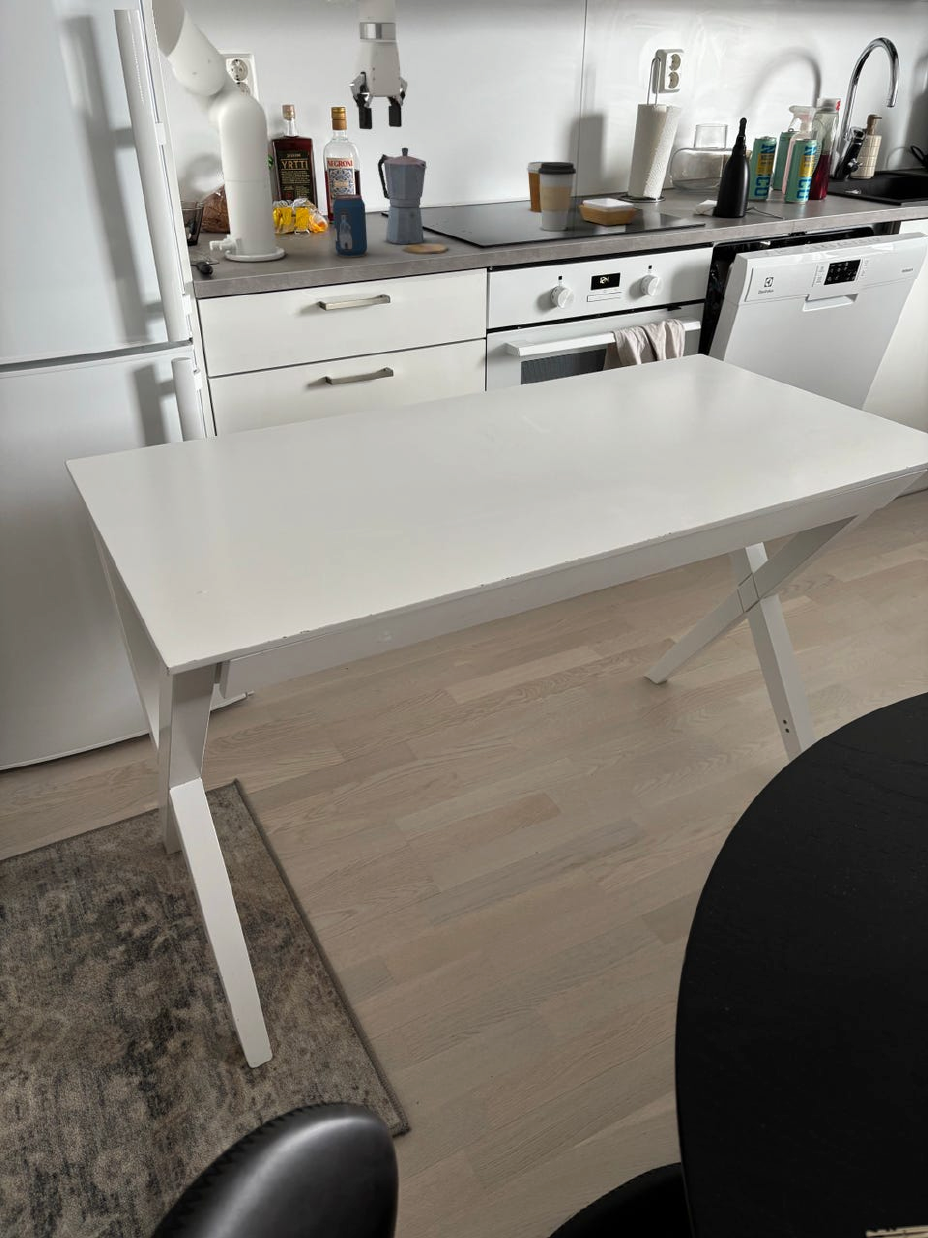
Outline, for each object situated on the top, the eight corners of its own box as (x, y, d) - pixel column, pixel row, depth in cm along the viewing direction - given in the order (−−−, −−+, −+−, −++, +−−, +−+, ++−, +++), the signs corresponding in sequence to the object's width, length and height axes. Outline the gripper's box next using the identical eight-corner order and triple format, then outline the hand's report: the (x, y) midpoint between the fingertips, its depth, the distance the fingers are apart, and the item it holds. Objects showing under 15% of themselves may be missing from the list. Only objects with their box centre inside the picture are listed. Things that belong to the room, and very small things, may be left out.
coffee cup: (527, 228, 235) (530, 163, 227) (551, 224, 241) (554, 160, 233) (557, 233, 230) (560, 166, 222) (580, 228, 236) (584, 163, 228)
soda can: (363, 251, 210) (360, 193, 203) (370, 256, 204) (367, 197, 198) (333, 252, 208) (329, 194, 201) (339, 258, 202) (335, 198, 196)
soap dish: (577, 220, 247) (578, 199, 244) (607, 217, 251) (608, 197, 248) (606, 227, 238) (607, 205, 235) (636, 224, 242) (638, 203, 239)
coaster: (418, 255, 206) (418, 252, 205) (398, 248, 212) (398, 246, 212) (453, 251, 210) (453, 248, 210) (433, 244, 216) (433, 242, 216)
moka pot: (415, 247, 213) (412, 150, 203) (365, 240, 221) (360, 146, 211) (441, 241, 220) (440, 147, 209) (391, 234, 228) (388, 143, 217)
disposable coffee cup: (526, 207, 267) (528, 160, 260) (559, 208, 266) (562, 161, 259) (523, 212, 259) (525, 164, 252) (558, 213, 258) (560, 165, 251)
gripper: (390, 34, 199) (393, 124, 208) (335, 33, 187) (340, 128, 196) (418, 34, 195) (419, 126, 204) (363, 33, 184) (367, 130, 192)
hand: (380, 127), depth 200 cm, fingers open, 9 cm apart
